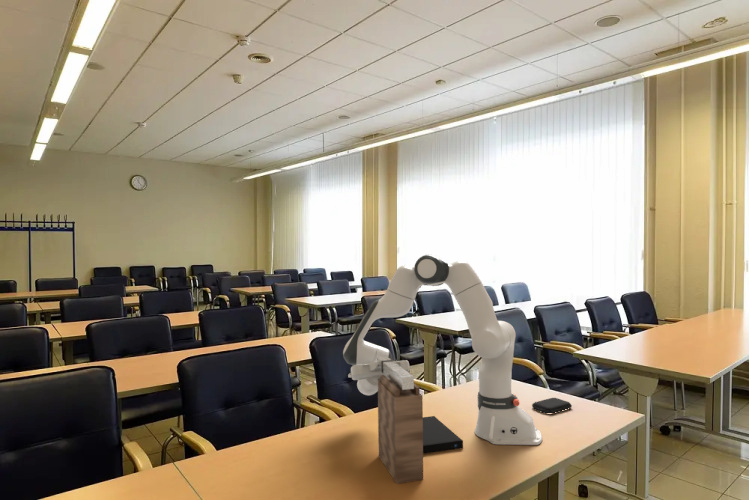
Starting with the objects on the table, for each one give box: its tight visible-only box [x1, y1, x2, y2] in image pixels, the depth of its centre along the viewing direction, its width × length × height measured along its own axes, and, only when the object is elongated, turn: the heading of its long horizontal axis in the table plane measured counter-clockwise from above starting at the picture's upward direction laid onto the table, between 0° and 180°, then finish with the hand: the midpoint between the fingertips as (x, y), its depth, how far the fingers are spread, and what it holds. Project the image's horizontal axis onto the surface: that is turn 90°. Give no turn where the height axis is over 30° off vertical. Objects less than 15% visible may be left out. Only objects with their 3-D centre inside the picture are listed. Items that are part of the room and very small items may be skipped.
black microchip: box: [531, 397, 573, 414], centre depth 191 cm, size 11×3×15 cm
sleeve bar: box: [377, 356, 415, 390], centre depth 146 cm, size 26×4×4 cm, turn 16°
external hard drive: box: [423, 415, 464, 455], centre depth 163 cm, size 14×23×3 cm, turn 16°
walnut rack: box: [377, 375, 424, 485], centre depth 141 cm, size 18×8×26 cm, turn 16°
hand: (385, 363), depth 155 cm, fingers closed on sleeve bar, 3 cm apart
